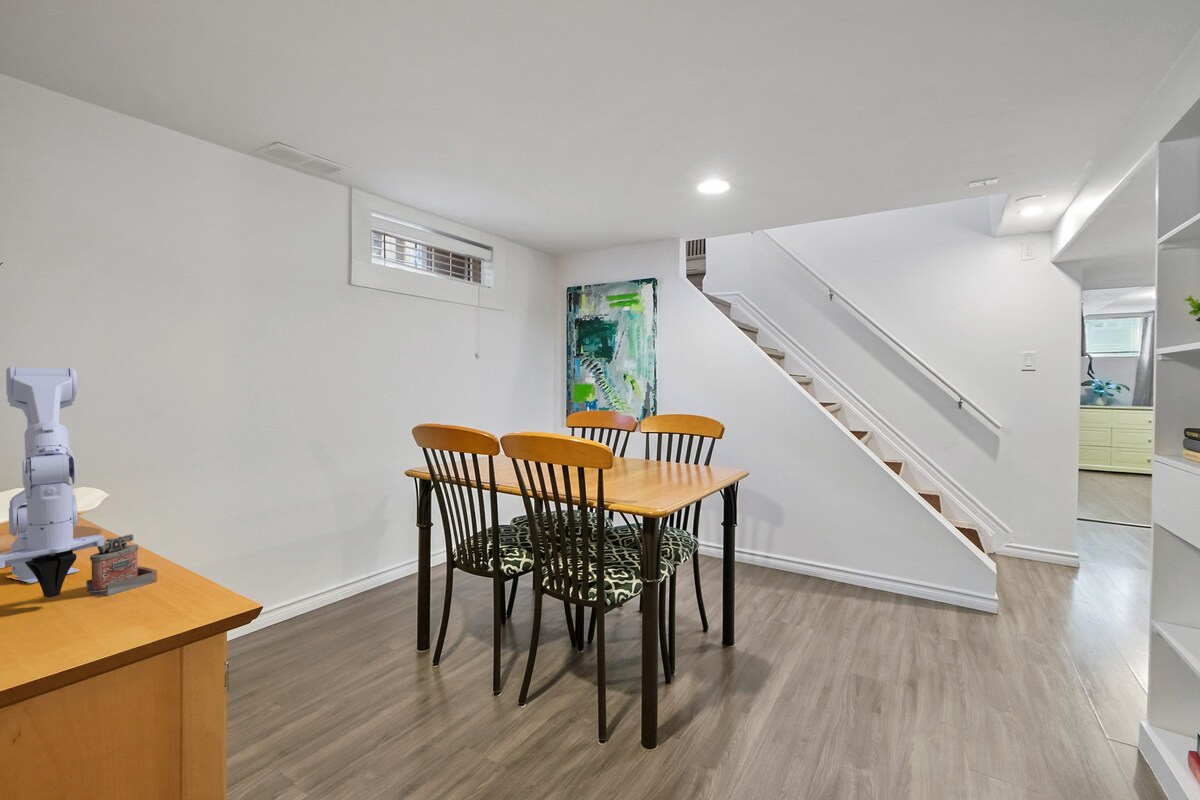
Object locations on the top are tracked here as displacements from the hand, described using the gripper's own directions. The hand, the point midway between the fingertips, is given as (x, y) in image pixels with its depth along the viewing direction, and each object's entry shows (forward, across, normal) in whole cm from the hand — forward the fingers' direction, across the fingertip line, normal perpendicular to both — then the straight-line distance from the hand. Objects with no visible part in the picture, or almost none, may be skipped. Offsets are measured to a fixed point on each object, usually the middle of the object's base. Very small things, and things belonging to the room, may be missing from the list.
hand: (51, 595), depth 95 cm
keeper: (+2, +10, 0) cm, 11 cm away
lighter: (+2, +9, 0) cm, 10 cm away
